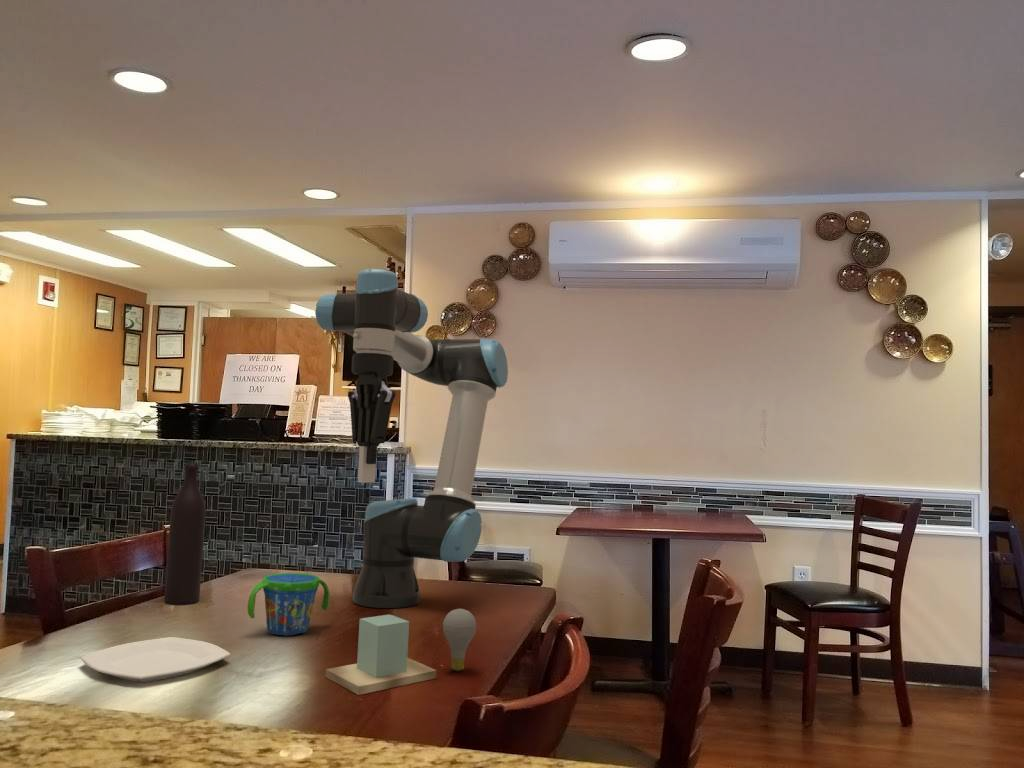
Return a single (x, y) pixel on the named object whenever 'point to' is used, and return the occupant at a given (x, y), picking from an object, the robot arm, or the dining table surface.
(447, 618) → the light bulb
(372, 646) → the grey-green block
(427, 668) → the stand
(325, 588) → the snack cup
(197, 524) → the wine bottle
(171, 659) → the plate
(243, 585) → the dining table surface
